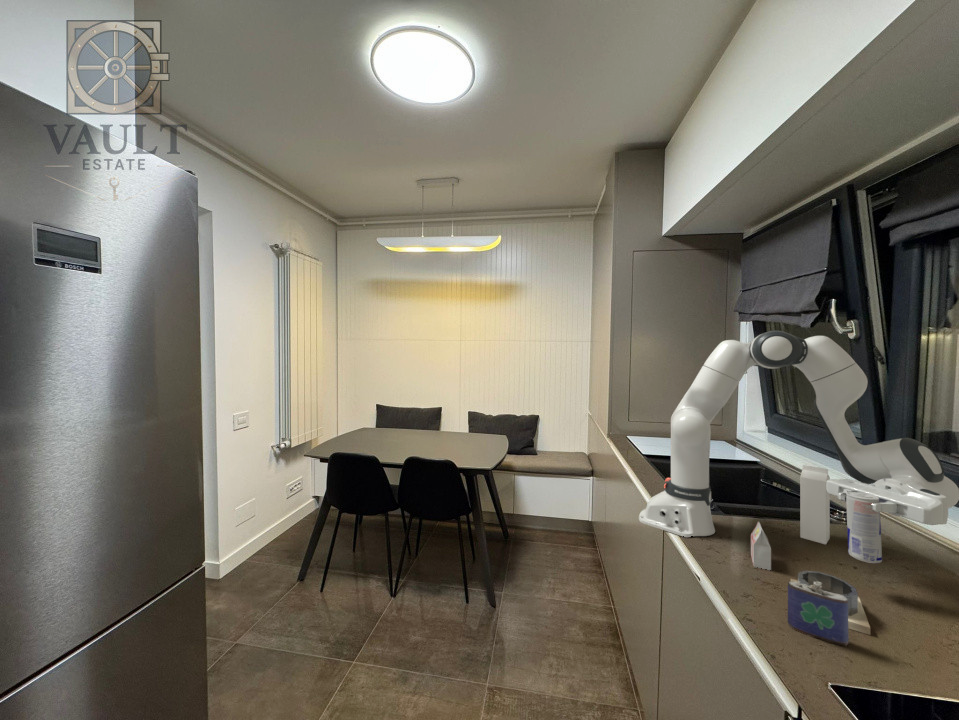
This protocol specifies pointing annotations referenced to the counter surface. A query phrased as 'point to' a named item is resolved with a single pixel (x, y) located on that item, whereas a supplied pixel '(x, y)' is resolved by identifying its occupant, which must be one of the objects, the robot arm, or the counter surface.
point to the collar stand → (839, 586)
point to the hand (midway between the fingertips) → (856, 502)
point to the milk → (814, 504)
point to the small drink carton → (760, 548)
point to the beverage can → (863, 527)
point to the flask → (818, 612)
